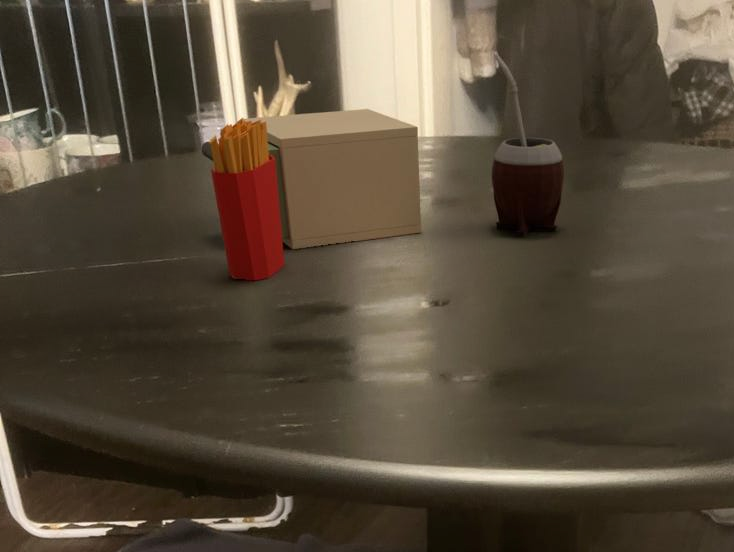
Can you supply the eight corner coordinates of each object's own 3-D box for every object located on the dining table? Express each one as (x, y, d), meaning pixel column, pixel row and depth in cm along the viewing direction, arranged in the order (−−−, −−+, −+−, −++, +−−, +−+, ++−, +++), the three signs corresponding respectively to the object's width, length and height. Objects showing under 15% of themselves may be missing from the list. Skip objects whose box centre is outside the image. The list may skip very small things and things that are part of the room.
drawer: (237, 245, 92) (224, 153, 87) (206, 218, 100) (192, 134, 95) (397, 224, 98) (393, 138, 93) (355, 201, 106) (349, 121, 101)
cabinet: (292, 249, 94) (280, 138, 88) (254, 221, 103) (240, 118, 97) (421, 232, 99) (417, 126, 93) (373, 206, 108) (367, 108, 102)
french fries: (253, 256, 92) (234, 113, 84) (293, 259, 91) (277, 114, 84) (217, 283, 85) (193, 129, 78) (260, 285, 84) (240, 131, 77)
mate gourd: (553, 239, 96) (560, 64, 87) (476, 235, 98) (475, 61, 89) (567, 221, 102) (575, 55, 93) (493, 217, 104) (494, 53, 95)
